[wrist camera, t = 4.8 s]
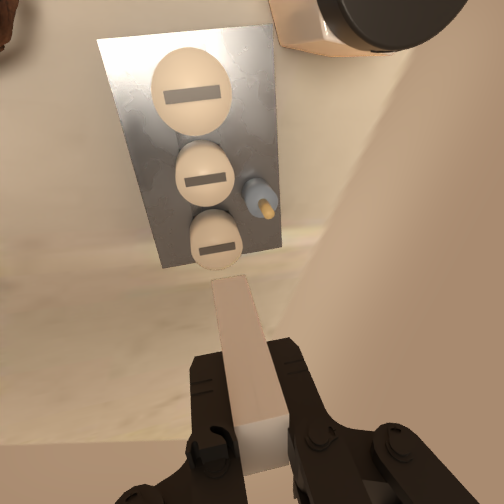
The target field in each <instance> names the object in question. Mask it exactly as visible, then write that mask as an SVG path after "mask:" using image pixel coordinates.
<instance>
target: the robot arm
mask: <svg viewBox="0 0 504 504" xmlns="http://www.w3.org/2000/svg"><path fill="white" fill-rule="evenodd" d="M211 282H212V289H213V295H214V301H215V308H216V314H217V321H218V327H219V334H220V340H221V347H222V351H221V352H216V353H211V354H206V355H201V356H196V357H195V358H194V360H193V362H192V365H191V367H190V395H191V420H192V434H191V436H190V438H189V440H188V441H187V446H186V451H185V454H186V456H187V460H186V461H185V463H184V464H183V465H182V467H181V468H180V469H179V470H178V471H176V472H175V473H174V474H172V475H171V476H170V477H168V478H166V479H165V480H163V481H162V482H160V483H159V484H157V485H155V486H150V485H147V484H143V485H138V486H134V487H132V488H131V489H129V490H128V491H126V492H124V494H123V495H122V496H121V497H120V498H119V499H118V500H117V501H116V502H115V504H248V501H247V495H246V489H245V483H244V477H243V476H247V475H251V474H255V473H258V472H263V471H267V470H271V469H274V468H278V467H282V466H286V465H289V461H290V464H291V468H292V472H293V475H294V476H293V493H294V499H296V498H297V499H298V503H299V504H479V503H478V502H477V500H476V499H475V498H474V497H473V496H472V495H471V494H470V493H469V492H468V491H467V489H465V487H464V486H463V485H462V484H461V483H460V482H459V481H458V480H457V478H456V477H455V476H454V475H453V474H452V473H451V472H450V471H449V470H448V469H447V467H446V466H445V465H444V464H443V463H442V462H441V461H440V460H439V459H438V458H437V457H436V455H434V453H433V452H432V451H431V450H430V449H429V448H428V447H427V446H426V445H425V444H424V442H423V441H422V440H421V439H420V438H419V437H418V436H417V435H416V434H415V433H414V432H412V431H411V430H410V429H408V428H407V427H405V426H403V425H400V424H397V423H386V424H383V425H380V426H379V428H377V429H376V430H375V432H374V431H365V430H356V429H350V428H347V427H344V426H342V425H340V424H339V423H337V422H336V421H334V420H333V419H332V418H331V417H330V416H329V414H328V413H327V411H326V409H325V408H324V405H323V403H322V400H321V398H320V396H319V393H318V391H317V388H316V386H315V384H314V381H313V379H312V377H311V374H310V372H309V371H308V367H307V365H306V363H305V361H304V358H303V356H302V353H301V351H300V349H299V346H297V345H296V344H295V343H294V342H293V341H292V340H291V339H290V338H289V337H288V338H283V339H279V340H273V341H268V342H266V339H265V336H264V333H263V330H262V326H261V323H260V320H259V317H258V314H257V311H256V307H255V304H254V301H253V298H252V295H251V292H250V288H249V285H248V282H247V279H246V276H245V275H240V276H234V277H227V278H221V279H215V280H211Z"/></svg>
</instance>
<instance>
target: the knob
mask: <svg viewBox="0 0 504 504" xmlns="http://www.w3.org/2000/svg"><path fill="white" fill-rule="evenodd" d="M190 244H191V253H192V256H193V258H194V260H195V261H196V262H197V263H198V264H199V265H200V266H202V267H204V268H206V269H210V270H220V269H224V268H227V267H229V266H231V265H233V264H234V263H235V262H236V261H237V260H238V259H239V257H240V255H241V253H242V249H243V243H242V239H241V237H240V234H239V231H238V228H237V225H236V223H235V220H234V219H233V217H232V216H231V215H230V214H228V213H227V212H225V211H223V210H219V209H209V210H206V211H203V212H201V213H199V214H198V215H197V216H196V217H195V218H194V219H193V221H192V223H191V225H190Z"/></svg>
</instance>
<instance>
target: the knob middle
mask: <svg viewBox="0 0 504 504" xmlns="http://www.w3.org/2000/svg"><path fill="white" fill-rule="evenodd" d="M175 178H176V185H177V188H178V190H179V192H180V194H181V195H182V196H183V197H184V198H185V199H186V200H187V201H188V202H190V203H192V204H194V205H197V206H202V207H208V206H214V205H217V204H219V203H221V202H222V201H224V200H225V199H226V198H227V197H228V196H229V194H230V193H231V191H232V189H233V186H234V180H235V177H234V171H233V168H232V166H231V164H230V162H229V160H228V158H227V156H226V154H225V152H224V151H223V150H222V148H221V147H219V146H218V145H217V144H215V143H213V142H211V141H208V140H195V141H192V142H190V143H188V144H186V145H185V146H184V147H183V148H182V149H181V150H180V152H179V154H178V156H177V159H176V175H175Z"/></svg>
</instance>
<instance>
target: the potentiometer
mask: <svg viewBox="0 0 504 504" xmlns="http://www.w3.org/2000/svg"><path fill="white" fill-rule="evenodd" d="M242 197H243V199H244V201H245V203H246V206H247V208H248V210H249V212H250V213H251V214H252V215H253V216H255V217H258V218H266V219H272V218H273V217H274V215H275V212H274V211H275V210H276V208H277V206H278V198H277V195H276V194H275V192H274V191H273V190H272V188H271V187H270V186H269V184H268V183H267V182H266V181H265V180H263V179H261V178H253V179H251V180H249V181H247V182H246V183H245V185H244V186H243V189H242Z"/></svg>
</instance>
